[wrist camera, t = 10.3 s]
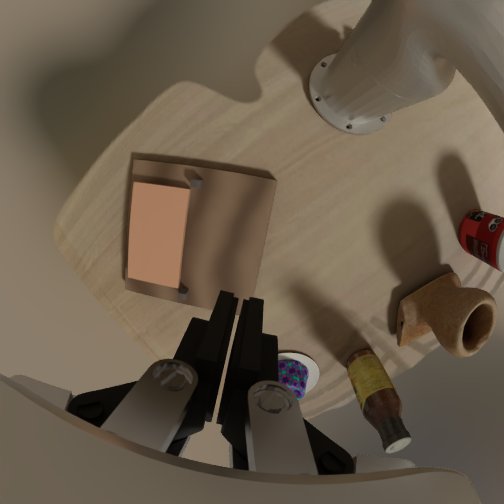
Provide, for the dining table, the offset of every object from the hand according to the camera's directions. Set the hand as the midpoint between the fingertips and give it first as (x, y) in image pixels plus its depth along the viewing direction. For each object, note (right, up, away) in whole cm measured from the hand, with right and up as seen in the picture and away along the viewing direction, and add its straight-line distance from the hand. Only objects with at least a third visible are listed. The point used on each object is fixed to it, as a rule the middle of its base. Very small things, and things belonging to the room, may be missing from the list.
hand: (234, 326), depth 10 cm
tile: (-12, +5, +25) cm, 28 cm away
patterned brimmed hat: (+7, -19, +35) cm, 41 cm away
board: (-8, +5, +28) cm, 29 cm away
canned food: (+40, +7, +25) cm, 47 cm away
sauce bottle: (+21, -17, +33) cm, 43 cm away
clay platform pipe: (+31, -5, +29) cm, 43 cm away
